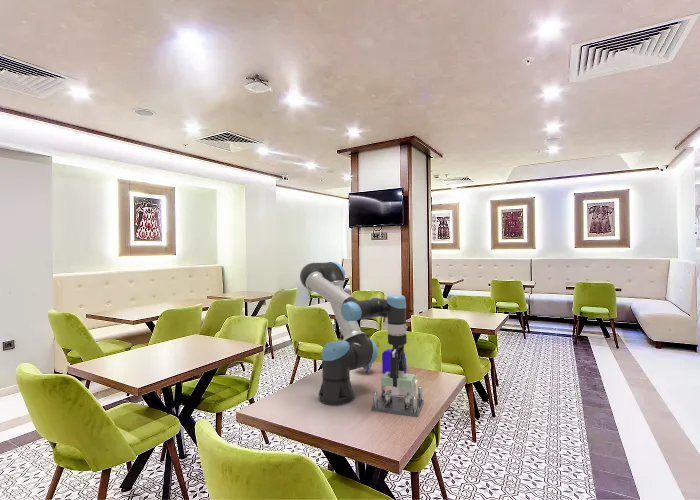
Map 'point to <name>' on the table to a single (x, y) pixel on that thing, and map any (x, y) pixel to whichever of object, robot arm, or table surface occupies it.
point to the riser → (410, 390)
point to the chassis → (398, 403)
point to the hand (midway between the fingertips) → (398, 390)
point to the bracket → (388, 361)
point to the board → (404, 380)
